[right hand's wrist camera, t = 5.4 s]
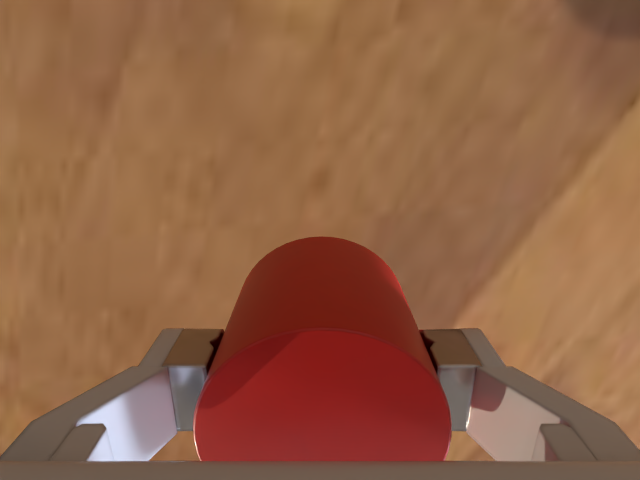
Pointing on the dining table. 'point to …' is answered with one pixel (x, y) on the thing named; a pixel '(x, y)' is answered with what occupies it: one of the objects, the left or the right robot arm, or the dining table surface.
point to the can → (322, 365)
